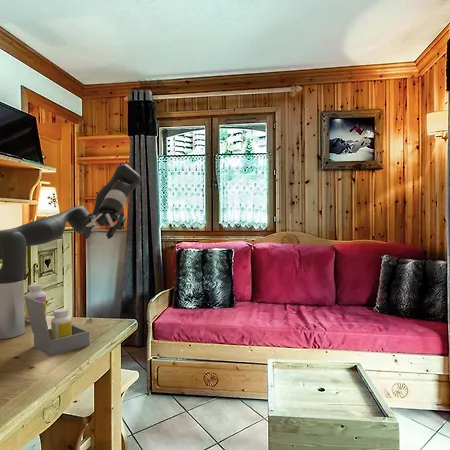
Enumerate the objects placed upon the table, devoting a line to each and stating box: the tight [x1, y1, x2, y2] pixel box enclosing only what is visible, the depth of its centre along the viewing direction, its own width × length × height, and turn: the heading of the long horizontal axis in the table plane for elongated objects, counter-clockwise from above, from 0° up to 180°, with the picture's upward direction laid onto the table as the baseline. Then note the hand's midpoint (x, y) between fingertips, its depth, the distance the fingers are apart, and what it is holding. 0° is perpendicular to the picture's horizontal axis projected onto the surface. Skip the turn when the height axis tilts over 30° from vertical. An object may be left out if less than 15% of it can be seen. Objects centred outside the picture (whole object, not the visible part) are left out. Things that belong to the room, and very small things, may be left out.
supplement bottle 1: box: [25, 283, 47, 323], centre depth 128 cm, size 7×7×13 cm
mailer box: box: [24, 295, 90, 357], centre depth 101 cm, size 11×13×15 cm
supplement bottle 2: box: [50, 308, 72, 341], centre depth 103 cm, size 5×5×10 cm
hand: (96, 237), depth 119 cm, fingers open, 8 cm apart
